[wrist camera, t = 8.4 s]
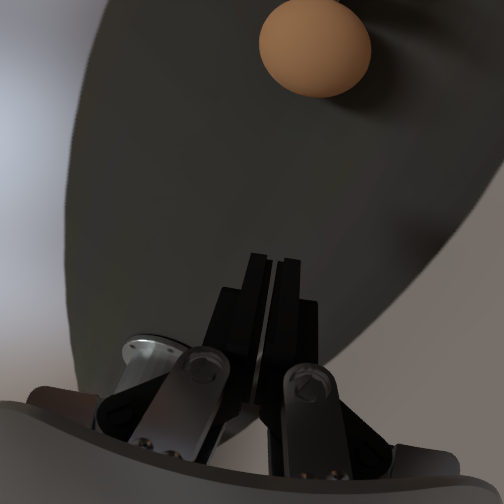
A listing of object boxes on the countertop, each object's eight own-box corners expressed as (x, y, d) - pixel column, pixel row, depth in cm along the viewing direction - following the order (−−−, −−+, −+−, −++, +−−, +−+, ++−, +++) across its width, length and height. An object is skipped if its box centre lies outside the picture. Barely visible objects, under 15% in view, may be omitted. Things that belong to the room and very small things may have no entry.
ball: (371, -19, 9) (350, 11, 14) (242, -12, 10) (257, 18, 16) (392, 95, 12) (364, 95, 17) (263, 103, 13) (272, 102, 18)
